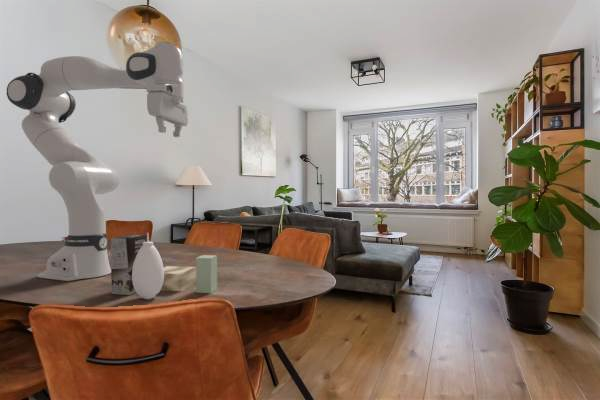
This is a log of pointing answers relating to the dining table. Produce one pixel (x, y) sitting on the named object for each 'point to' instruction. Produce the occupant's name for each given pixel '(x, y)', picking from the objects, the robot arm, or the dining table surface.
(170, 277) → the base block
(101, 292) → the dining table surface
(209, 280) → the sage post
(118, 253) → the coffee box
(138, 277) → the white air blower bulb
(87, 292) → the dining table surface
